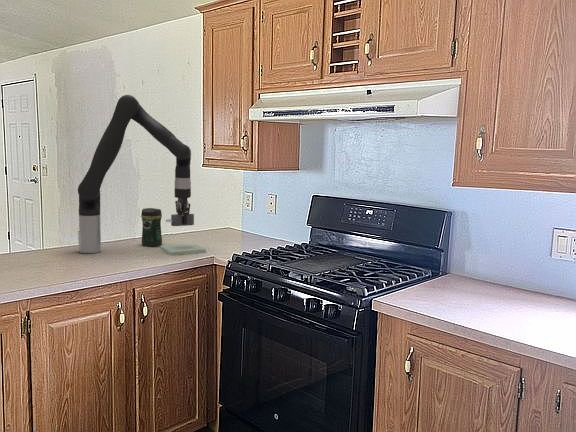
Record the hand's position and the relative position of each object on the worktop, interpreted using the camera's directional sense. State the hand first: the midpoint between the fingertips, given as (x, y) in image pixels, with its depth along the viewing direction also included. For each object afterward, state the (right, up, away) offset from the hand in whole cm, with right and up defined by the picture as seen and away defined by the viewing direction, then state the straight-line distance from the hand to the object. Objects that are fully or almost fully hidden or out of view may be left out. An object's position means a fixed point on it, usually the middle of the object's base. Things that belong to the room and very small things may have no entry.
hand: (182, 223), depth 248 cm
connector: (-1, -1, 0) cm, 1 cm away
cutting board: (0, -13, +2) cm, 13 cm away
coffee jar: (-18, -11, +13) cm, 25 cm away
